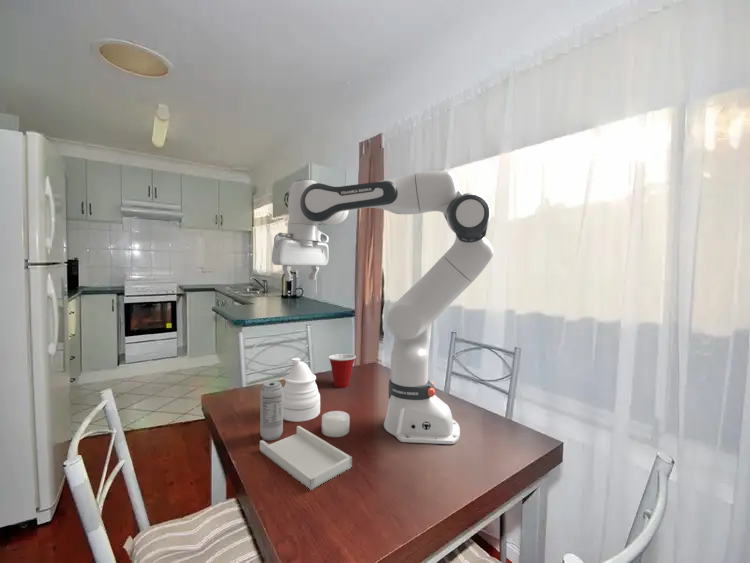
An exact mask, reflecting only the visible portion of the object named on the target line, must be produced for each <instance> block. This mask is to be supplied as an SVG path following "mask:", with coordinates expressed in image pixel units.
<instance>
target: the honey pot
mask: <svg viewBox="0 0 750 563" xmlns="http://www.w3.org/2000/svg"><path fill="white" fill-rule="evenodd" d="M291 363H292V364H293V365H294V366H292V368H291V370H290V372H289V373H288V374H287V375H285V377H284V381H285V383H284V385H283V386H282V387H283V421H284V420H285V421H288V422H294V423H295V422H305V421H311V420H312V419H315V418H317V417H318V416H319V415H320V413H321V394H320V392H319V389H318V385H317V383H316V380H317V376H316V375H315V373H313V372H312V371H311V369H310V367H309V366H308V364H307V363H305V362H304V361H302V360H301V358H299V357H294V358H292V359H291Z"/></svg>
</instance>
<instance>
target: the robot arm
mask: <svg viewBox="0 0 750 563" xmlns="http://www.w3.org/2000/svg"><path fill="white" fill-rule="evenodd" d="M368 208H369V209H371V208H373V209H379V210H384V211H388V212H389V213H390V212H391V213H393V214H396V215H417V214H423V213H424V214H425V213H429V212H430V213H431V212H439V213H442V214H443V216H444V219H445V220H446V223H447V226H448V227H449V228H450V230H451V232H454V234H455V240H454V242H453V244H452V245H451V247H450V248H449V249H448V250H447V251H446V252H445V253H444V254H443V255H442V257H440V258H439V259H438V260H437V261H436V263H435V264H433V265H432V267H431V268H430V269H429V270H428V271H427V272H426V273H424V275H423V276H422V277H421V278H420V279H419V280H418V281H417V282H416V283H414V284H413V286H411V287H410V288H409V289H408V291H407V290H406V292H405V293H404V294H403V295H402V296H401V297H400V299H398V300H397V301H396V302H395V303H394V304H393V305H392V306H391V307H390V309H389V310H388V313H387V317H386V324H387V329H388V331H389V332H390V334H392V336H394V339H393V343H392V344H393V345H392V348H391V349H392V350H391V355H390V356H391V357H390V377H389V380H388V391H387V392H388V393H387V394H388V406H387V411H386V415H385V419H384V421H383V427H384V429H385V430H386V432H388V433H389V434H391V435H392V436H394V437H396V439H397V440H398V441H400V442H402V443H414V444H417V443H418V444H439V445H440V444H441V445H442V444H443V445H453V444H456V443H457V442H458V441H459V440H460V437H461V428H460V424H459V423H458V422H457V421H456V420H455V419H454V418H453V414H452V411H451V409H450V407H449V405H448V404H447V403H446V402H444V401H443V400H442V399H440V398H439V397H438V396H437V395H436V390H435V385H434V384H435V383H434V381H432V382H430V380H428V378H429V355H430V345H431V338H432V324H433V322H434V321H436V320H437V319H438V318H439V317H440V315H441V314H443V313H444V311H445V310H446V309H447V308H448V307H449V306H451V304H452V303H453V302H455V300H456V299H457V298H458V297H459V296H460V295H461V294H462V293H463V292H464V291H465V290H466V289H467V288H469V286H470V285H472V283H473V282H474V281H475V280H476V279H477V278H478V277H479V276H480V275H481V273H482V272H483V271H484V270H485V268H486V267H487V266H488V264H489V263H490V261H491V260H492V258H493V257H494V249H493V246H492V244H491V243H490V241H489V240H488V239H487V238H486V236H487V231H488V228H489V224H490V221H491V214H492V212H491V207H490V204H489V202H488V200H487V199H485V198H484V196H482V195H480V194H477V193H473V192H467V193H466V192H465V193H462V191H461V190H460V185H459V181H458V179H457V177H456V176H455V174H454V173H452V172H451V171H449V170H430V171H421V172H416V173H415V172H414V173H409V174H405V175H400V176H396V177H392V178H389V179H388V178H387V179H384V180H380V181H374V182H366V183H365V182H364V183H358V184H357V183H356V184H351V185H341V186H333V185H328V184H326V183H320V182H318V183H317V181H315V180H312V179H299V180H296V181H294V182H293V183H292V184H291V185H290V188H289V193H288V204H287V212H288V216H289V218H288V221H287V232H286V233H284V232H279V233H277V234H275V235H274V238H273V246H272V253H271V263H272V264H273V265H275V266H281V268H282V271H283V273H284V275H285V276H284V277H285V278H284V279H285V281H286V282H292V281H294V275H293V274H291V271H290V270H291V269H292V266H311V273H310V274H308V280H309V281H316V280H317V274H318V272H319V271H320V266H321V267H322V266H323V267H325V266H327V265H328V264H329V257H330V256H329V255H330V254H329V253H330V252H329V249H330V248H329V245H328V244H327V243H329V240H330V239H329V238H330V237H329V236H328V235H327V234H325V233H324V232H322V231H320V230H319V229H318V225H319V223H322V224H325V225H328V226H337V225H340V224H342V223H344V222H345V221H346V220H347V219H348V217H349V213H350V211H354V210H359V209H360V210H361V209H368Z"/></svg>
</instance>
